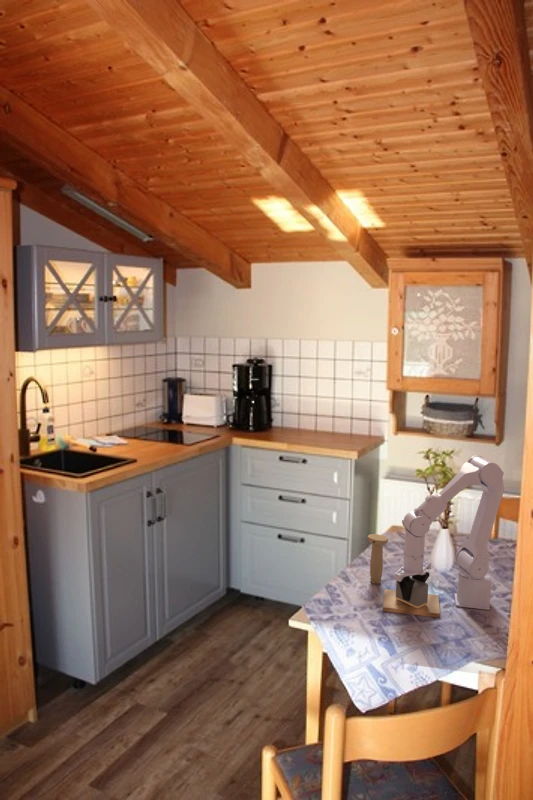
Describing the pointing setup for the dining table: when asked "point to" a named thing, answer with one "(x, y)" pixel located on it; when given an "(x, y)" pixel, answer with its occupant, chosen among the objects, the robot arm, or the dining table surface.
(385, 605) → the oak board
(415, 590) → the block
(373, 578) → the handle
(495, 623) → the dining table surface
